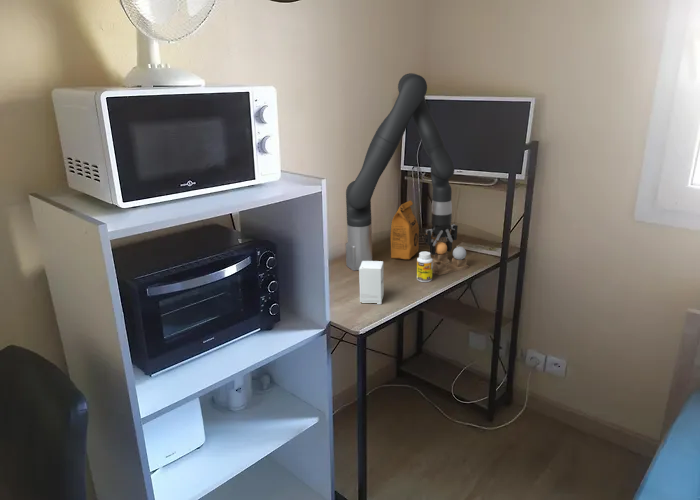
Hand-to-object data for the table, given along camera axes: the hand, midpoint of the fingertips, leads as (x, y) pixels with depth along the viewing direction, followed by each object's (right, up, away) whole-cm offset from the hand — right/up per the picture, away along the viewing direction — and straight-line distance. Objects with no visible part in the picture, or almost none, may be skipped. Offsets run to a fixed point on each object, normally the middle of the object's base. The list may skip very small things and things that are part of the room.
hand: (440, 252), depth 211 cm
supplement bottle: (-8, -10, -15) cm, 20 cm away
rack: (+2, -6, -7) cm, 9 cm away
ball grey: (+6, 0, -7) cm, 9 cm away
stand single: (0, -3, +1) cm, 4 cm away
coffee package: (-13, -1, +9) cm, 16 cm away
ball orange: (0, +2, -1) cm, 2 cm away
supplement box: (-28, -16, -30) cm, 44 cm away
